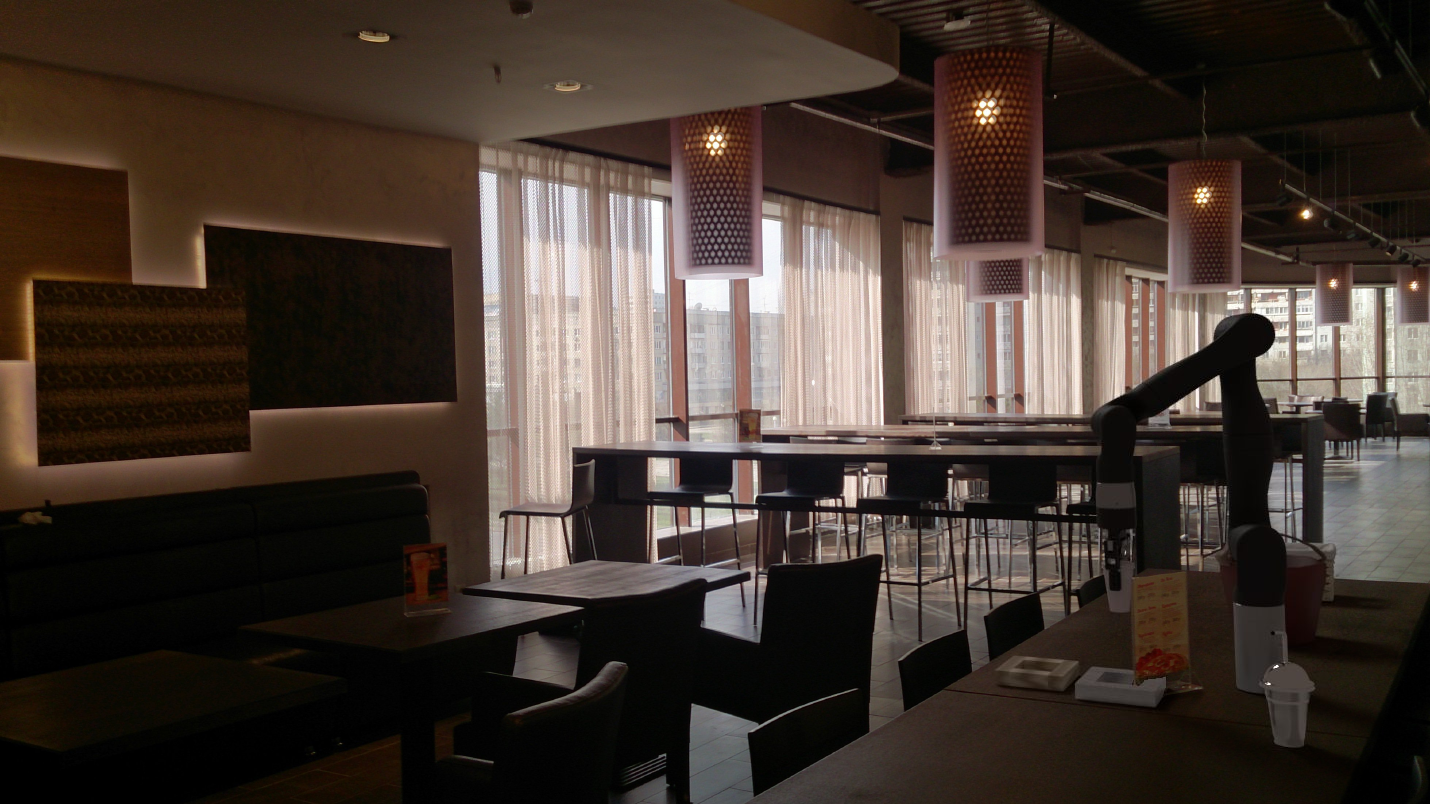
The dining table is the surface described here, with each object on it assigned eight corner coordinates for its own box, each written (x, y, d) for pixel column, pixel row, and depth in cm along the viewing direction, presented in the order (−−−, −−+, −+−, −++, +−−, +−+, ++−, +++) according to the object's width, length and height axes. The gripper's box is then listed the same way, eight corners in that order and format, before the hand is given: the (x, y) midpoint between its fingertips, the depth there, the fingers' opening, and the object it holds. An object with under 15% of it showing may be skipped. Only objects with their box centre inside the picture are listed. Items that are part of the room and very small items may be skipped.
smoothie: (1139, 613, 218) (1136, 543, 218) (1105, 613, 219) (1102, 543, 219) (1133, 607, 224) (1131, 538, 224) (1100, 607, 225) (1098, 539, 225)
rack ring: (1168, 688, 224) (1168, 673, 224) (1155, 707, 211) (1154, 691, 211) (1092, 680, 232) (1091, 666, 232) (1075, 698, 219) (1074, 683, 219)
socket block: (1079, 675, 237) (1078, 661, 237) (1063, 691, 225) (1062, 676, 225) (1014, 668, 244) (1014, 655, 244) (995, 684, 232) (994, 670, 232)
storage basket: (1240, 599, 312) (1238, 547, 312) (1245, 589, 326) (1243, 539, 326) (1337, 604, 300) (1335, 550, 300) (1338, 594, 314) (1336, 542, 314)
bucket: (1218, 644, 259) (1214, 538, 259) (1214, 625, 280) (1210, 527, 280) (1337, 649, 250) (1333, 539, 250) (1324, 629, 271) (1320, 527, 270)
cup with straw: (1329, 747, 185) (1325, 628, 185) (1285, 754, 182) (1281, 633, 182) (1289, 733, 193) (1285, 619, 193) (1247, 739, 190) (1243, 624, 190)
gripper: (1128, 508, 213) (1131, 595, 214) (1142, 501, 226) (1145, 583, 226) (1088, 508, 217) (1091, 592, 217) (1104, 500, 230) (1107, 581, 230)
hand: (1119, 587), depth 222 cm, fingers closed on smoothie, 6 cm apart
